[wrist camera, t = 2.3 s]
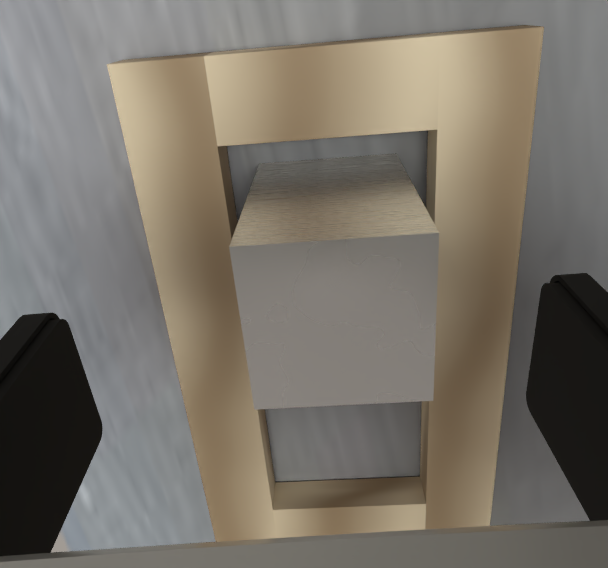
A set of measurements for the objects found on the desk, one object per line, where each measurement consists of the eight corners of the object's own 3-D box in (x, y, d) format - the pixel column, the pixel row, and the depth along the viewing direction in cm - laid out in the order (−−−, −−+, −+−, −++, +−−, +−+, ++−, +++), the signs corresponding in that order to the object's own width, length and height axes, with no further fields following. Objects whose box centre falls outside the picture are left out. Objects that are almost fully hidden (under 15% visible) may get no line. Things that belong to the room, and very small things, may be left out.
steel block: (396, 153, 18) (439, 233, 11) (396, 276, 20) (433, 400, 14) (259, 163, 18) (229, 246, 12) (273, 284, 20) (254, 409, 14)
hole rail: (524, 25, 16) (545, 26, 14) (467, 629, 29) (475, 661, 28) (124, 60, 17) (105, 64, 15) (247, 635, 30) (243, 667, 28)
